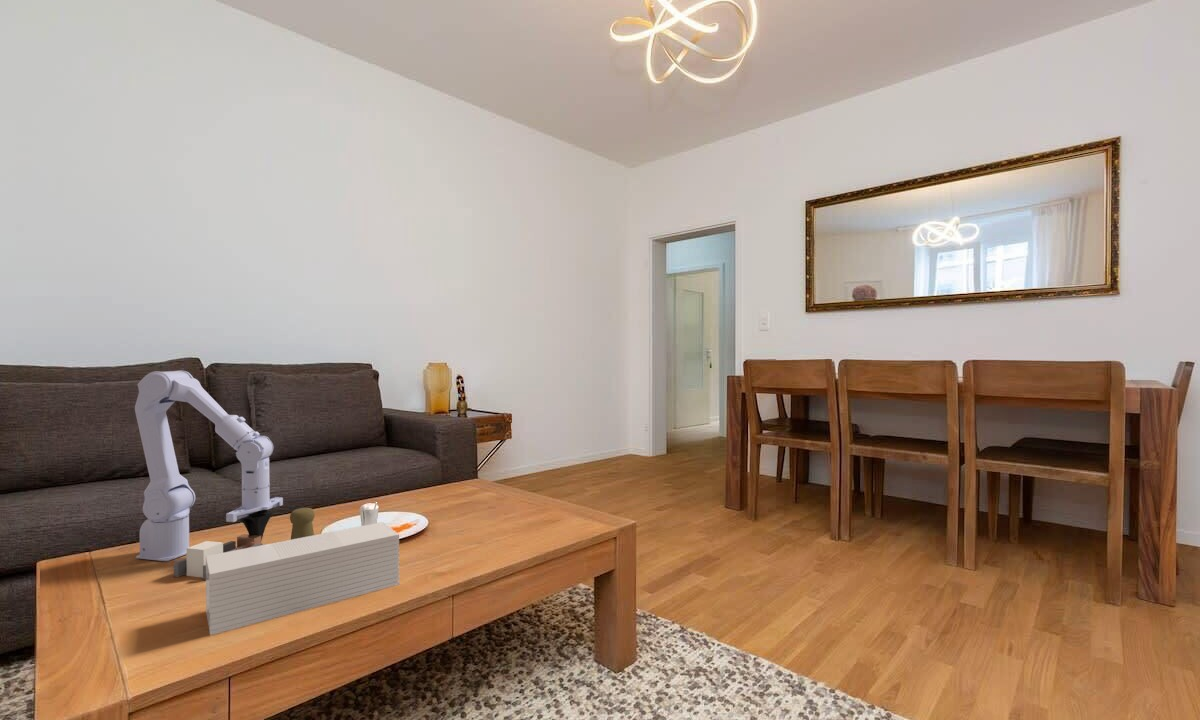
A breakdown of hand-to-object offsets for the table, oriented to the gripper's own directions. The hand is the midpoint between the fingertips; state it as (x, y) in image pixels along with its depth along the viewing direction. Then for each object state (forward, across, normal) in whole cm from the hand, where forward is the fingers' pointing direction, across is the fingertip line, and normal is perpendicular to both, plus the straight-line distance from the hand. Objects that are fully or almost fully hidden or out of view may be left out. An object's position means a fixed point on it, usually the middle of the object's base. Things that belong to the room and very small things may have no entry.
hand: (256, 542), depth 131 cm
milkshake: (+2, +13, -22) cm, 26 cm away
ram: (+2, -6, 0) cm, 6 cm away
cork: (+2, 0, -13) cm, 13 cm away
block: (+2, -13, 0) cm, 13 cm away
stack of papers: (+2, -19, -31) cm, 37 cm away
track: (+2, -10, 0) cm, 10 cm away
